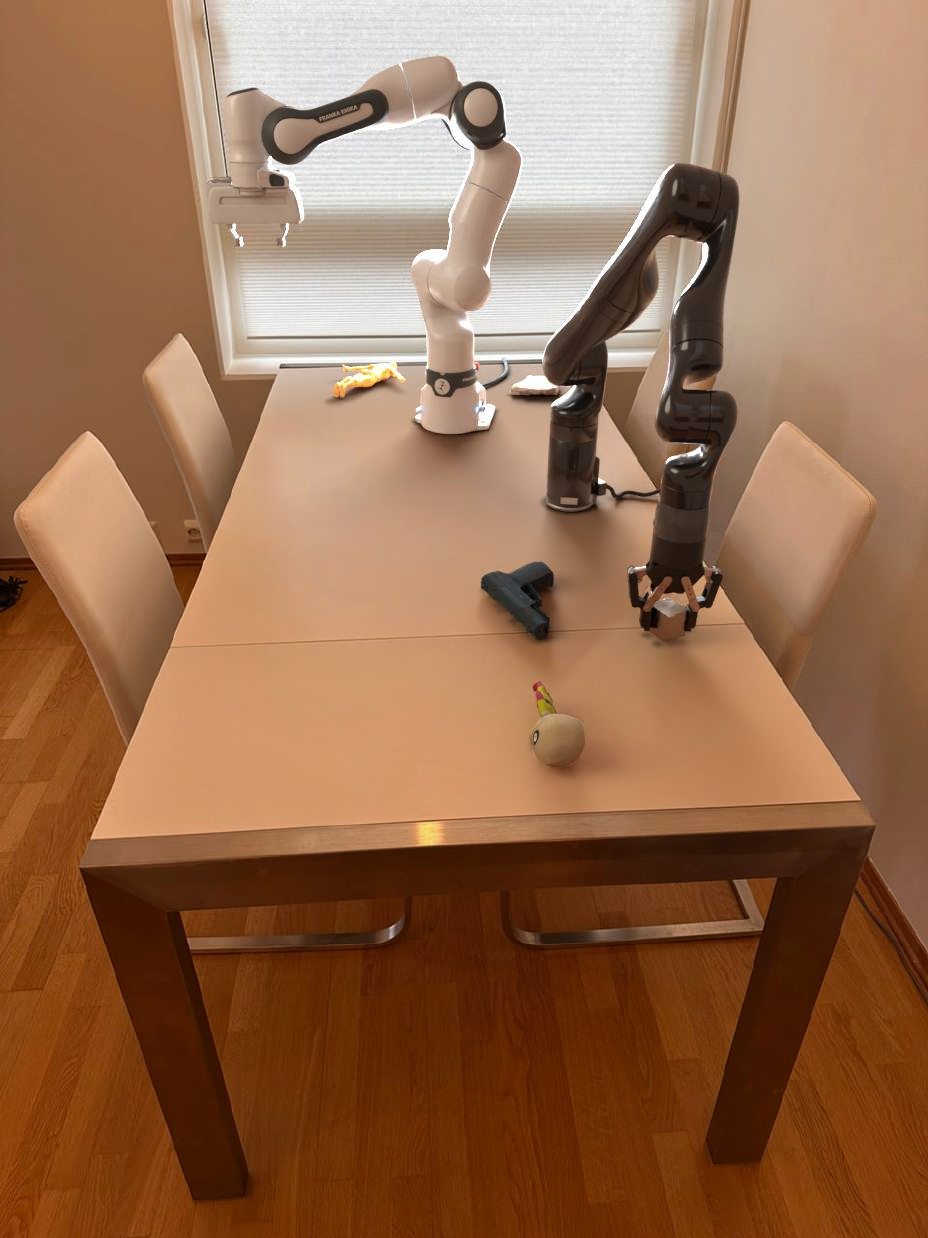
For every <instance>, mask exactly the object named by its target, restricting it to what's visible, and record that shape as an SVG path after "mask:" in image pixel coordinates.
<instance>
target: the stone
mask: <svg viewBox="0 0 928 1238" xmlns="http://www.w3.org/2000/svg"><path fill="white" fill-rule="evenodd" d="M559 390H560V387H559V386H555V385H553V384H551V383H550V382H549V381H548V380H547V379H546V378H545V376H544V375H526V378H525V379H524V380H521V381H519V382H517V383H514V384H513V385H512V386H511V388H510V390H509V395H512V396H513V395H515V396H520V395H521V396H530V395H535V396H536V395H538V396H539V395H545V396H550V395H553V396H557V395H558V393H559Z"/></svg>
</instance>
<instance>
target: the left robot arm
mask: <svg viewBox="0 0 928 1238" xmlns="http://www.w3.org/2000/svg"><path fill="white" fill-rule="evenodd" d="M431 118H440V119H441V122H443V124H444V126H445V128H446V129H447V131H448V133H449V135H450V136H451V138H452V140H453V141H454V142H455V143H456V144H457V145H458V146H459V147H461V148H463V149H464V150H468V151H470V153H471V160H470V164H469V167H468V170H467V172H466V175H465V178H464V179H463V182H462V184H461V187H460V189H459V192H458V194H457V196H456V199H455V201H454V203H453V206H452V208H451V210H450V213H449V218H448V223H449V228H450V231H449V239H448V244H447V249H446V250H443V249H430V250H425V251H423V252H421V253H419V254H418V255H417V256H416V257H415V258H414V260H413V261H412V265H411V267H410V278H411V282H412V284H413V286H414V288H415V291H416V294H417V297H418V301H419V306H420V311H421V315H422V319H423V324H424V330H425V338H426V341H425V342H426V362H427V363H426V366H425V371H424V372H425V373H424V376H425V383H426V384H425V385H424V386H422V387H421V389H420V402H419V403H420V406H418V407H417V408H415V412H416V413H417V412H419V414H417V415H416V416H415V417H414V421H415V422H416V423H418V424H420V425H421V426H422V428H423V429H425V430H427V431H429V432H431V433H435V434H444V435H459V434H466V433H467V434H468V433H471V432H475V431H486V430H489V429H490V426H491V423H492V420H493V418H494V415H495V413H496V406H495V405H493V404H489V403H487V389H486V387H489V386H492V385H494V384H496V383H498V382H499V381H502V380H503V379H504V378H505V377H506V376H507V375H508V372H509V365H508V361H507V359H506V357H505V356H503V357H502V358H501V361H502V362H503V366H504V371H503V373H502V374H501V375H499V376H498V377H496V378H494V379H492V380H490V381H487V382H484V383H482V384H481V383H480V382H479V381H478V371H479V369H480V363H479V361H475V331H474V329H473V326H472V325H471V321H470V320H469V316H468V312H469V313H470V312H476V311H478V310H480V309H481V308H483V307H484V306H485V305H486V303H487V302H488V301H489V299H490V296H491V293H492V280H491V276H490V268H491V262H492V261H491V260H492V254H493V249H494V245H495V242H496V238H497V236H498V233H499V231H500V228H501V226H502V224H503V221H504V219H505V216H506V214H507V212H508V209H509V207H510V205H511V202H512V199H513V198H514V195H515V192H516V188H517V185H518V182H519V180H520V175H521V171H522V167H523V156H522V154H521V151H520V150H519V148H518V147H517V146H516V145H515V144H514V143H512V142H511V141H509V140H507V139H506V136H507V120H506V119H507V118H506V107H505V101H504V99H503V96H502V94H501V92H500V91H499V89H498V88H497V87H496V86H494V85H493V84H491V83H489V82H486V81H483V80H475V81H472V82H469V83H467V84H463V82H462V81H461V80H460V76H459V73H458V70H457V68H456V66H455V64H454V63H453V62H452V61H451V59H449V58H448V57H446V56H443V55H434V56H426V57H420V58H416V59H415V58H414V59H412V60H408V61H404V62H401V63H398V64H395V65H392V66H389V67H387V68H385V69H383V70H381V71H380V72H378V73H376V74H375V75H373V76H371V77H370V78H368V79H367V80H366V81H365V82H364V84H362V85H361V86H360V87H359V88H358V89H357V90H356V91H354V92H353V93H351V94H350V95H347V96H346V97H343V98H340V99H337V100H335V101H332V102H328V103H326V104H323V105H320V106H316V107H314V108H310V109H299V108H297V107H294V106H291V105H288V104H285V103H283V102H281V101H278V100H276V99H274V98H273V97H271V96H269V95H267V94H266V93H265V92H263V91H262V90H261V89H260V88H258V87H249V88H248V87H247V88H244V89H243V88H242V89H239V90H235V91H231V92H230V93H229V94H227V96H226V97H225V99H224V101H223V126H224V134H225V135H224V136H225V140H226V142H227V146H228V150H229V151H228V153H229V154H228V166H229V173H230V176H219V177H218V176H211V177H210V178H209V179H206V181H205V183H204V190H205V195H206V198H207V199H208V201H207V205H208V206H207V207H208V218H209V221H210V222H211V223H212V224H213V225H226V229H227V232H228V233H229V234H230V236H231V237H232V239H233V245H234V247H243V246H244V242H243V237H242V236H239V235H238V234H237V232H236V230H235V229H236V228H237V226H236V225H279V228H280V230H281V231H282V232H281V235H280V236H277V237H276V239H275V240H276V246H277V247H286V239H285V237H286V235H287V233H288V231H289V228H290V227H289V225H299V224H301V223H302V222H303V220H304V218H305V214H304V207H303V201H302V197H301V194H300V191H299V189H298V188H297V187H296V186H295V185H294V184H295V183H296V176H295V174H294V173H292V172H290V171H286V170H284V169H280V168H277V167H274V166H273V165H272V159H273V160H274V161H276V162H277V163H279V164H282V165H287V166H293V165H297V164H299V163H301V162H303V161H304V160H305V159H307V158H308V157H309V156H310V154H311V153H312V152H313V151H314V150H315V149H316V148H318V147H319V146H321V145H323V144H325V143H328V142H331V141H334V140H337V139H339V138H342V137H346V136H347V135H351V134H353V133H357V132H361V131H367V130H368V131H369V130H384V129H385V130H388V129H395V128H401V127H402V128H403V127H406V126H409V125H412V124H415V123H418V122H421V121H424V120H425V121H426V120H428V119H431Z"/></svg>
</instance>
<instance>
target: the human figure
mask: <svg viewBox="0 0 928 1238" xmlns="http://www.w3.org/2000/svg"><path fill="white" fill-rule="evenodd" d="M342 367H343V368H342V370H343V371H344V372H346V373H347V372H350V371H351V372H353V371H358V372H359V373H357V374H355V375H354V376H353V377H352V376H345V377H344V378H343V379H342V380H341V381H340V382H336V383H335V384H334V390H333V394H334V396H335V397H340V398H344V397H345V396H346V389H348V388H355V387H358V388H360V387H362V388H370V387H373V386H374V385H375V384H376V383H378V382H381V381H383V380H387V379H389V378H390V377H391V376H392V377H393V378H395V379H397V380H398V381H399V382H400V383H404V382H405V381H407V379H408V377H405V376H402V375H401V373H399V372H398V371H397V369H398V366H397V363H396V362H394V361H389V362H388V363H385V362H384V363H375V364H369V365H363V366H362V365H357V366H352V367H350V366H347V365H346V366H345V364H342Z"/></svg>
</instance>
